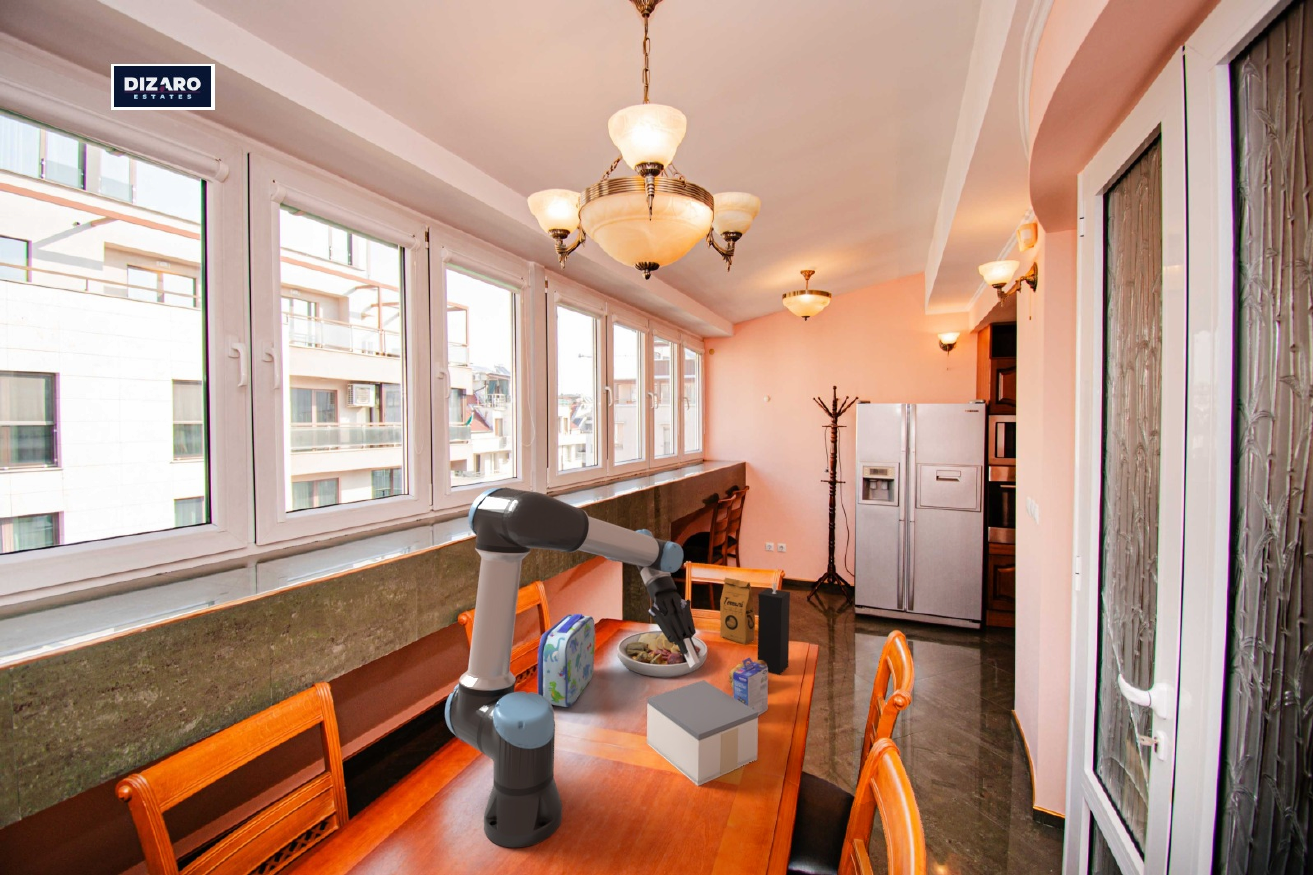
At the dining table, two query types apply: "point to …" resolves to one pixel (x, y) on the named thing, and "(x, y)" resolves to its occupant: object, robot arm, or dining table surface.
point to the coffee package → (737, 611)
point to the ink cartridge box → (752, 686)
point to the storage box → (702, 747)
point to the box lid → (702, 709)
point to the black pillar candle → (774, 629)
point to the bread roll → (741, 667)
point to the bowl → (657, 655)
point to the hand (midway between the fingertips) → (694, 665)
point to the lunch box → (566, 659)
